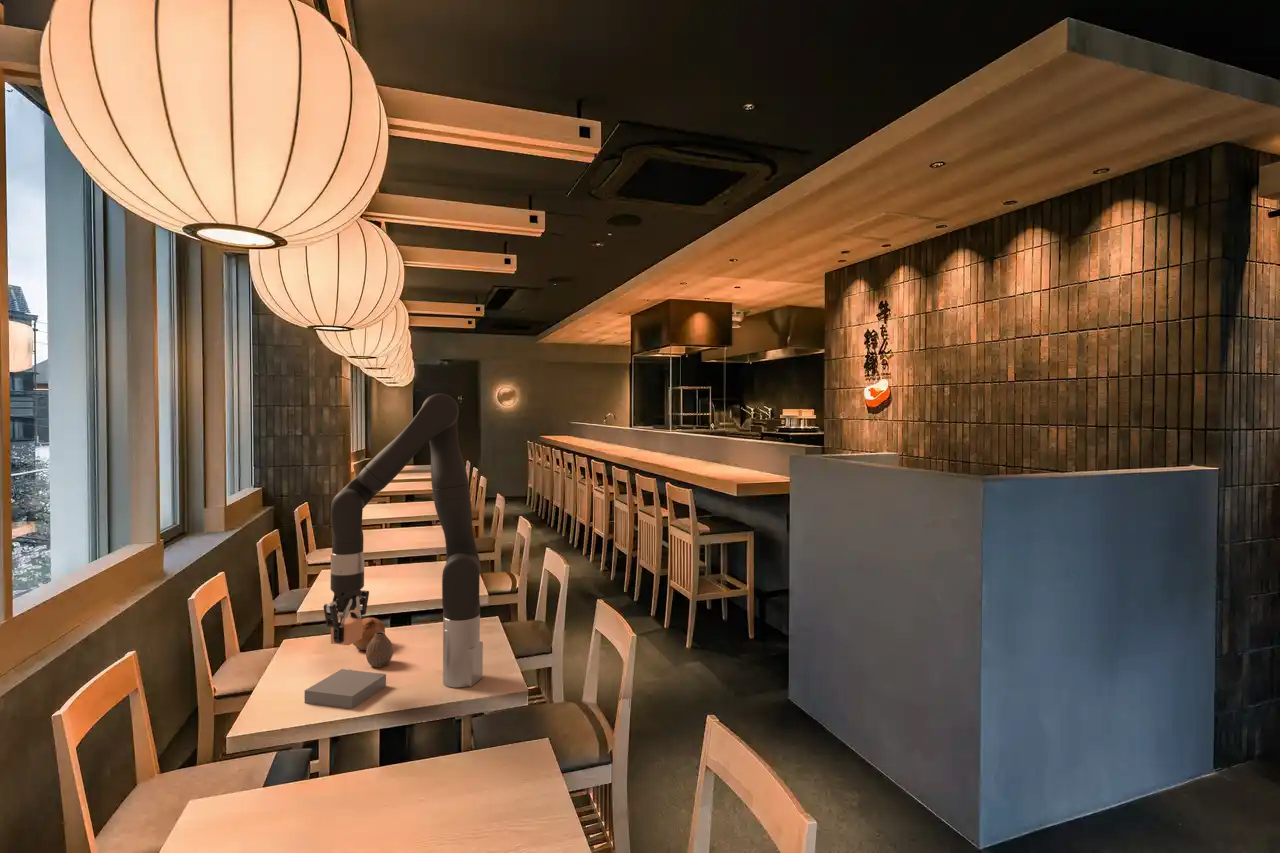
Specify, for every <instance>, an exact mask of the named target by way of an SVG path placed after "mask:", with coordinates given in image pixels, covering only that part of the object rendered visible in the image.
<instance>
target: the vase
mask: <svg viewBox="0 0 1280 853" xmlns="http://www.w3.org/2000/svg"><path fill="white" fill-rule="evenodd" d="M393 654H394V647H393V643H392V640H390V639H389V637H388V636H387V635H386V632H385V633H384V632H377V633H375V635H374V637H373V639H372V640H371V641H370V643H369V644H368V646H367V650H365V657H366V661H367V663H368V665H370V666H371V667H373V668H382V667H385V666H387V665H388V664H389V663H390V662H391V661H392V658H393Z"/></svg>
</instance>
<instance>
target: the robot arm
mask: <svg viewBox="0 0 1280 853" xmlns="http://www.w3.org/2000/svg"><path fill="white" fill-rule="evenodd" d="M459 410H460V409H459V405H458V403H457V401H456V399H454V398H453V397H451V395H448V394H445V393H435V394H432V395H430V396H428V397H427V398H426V399H425V400H423V403H422V406H421V408H420V409H419V410H418V411H417V414H416V415H415V416H414V417H413V419H412V420H411V421H410V422H409V424H407V426H406V427H405V428H404V429H403V430H402V431H401V432H400V433H399V434H398V435H397V436H396V437H395V438H394V439H393V440H392V441H391V442H389V443H388V444H387V445H386V446H385V447H383V449H382V450H380V451H379V452H378V453H377V454H375V456H374V457H373V458H372V459H371V460H370V461H369V462H368V463H367V464H365V466H364V467H363V468H362V469H361V471H360V472H359V473H358V475H356V476H355V478H353V479H352V480H350V482H349V483H347V484H346V485H345V486H344V487H343V488H342V489H341V490H340V491H339V492H337V494H336V495H335V496H334V497H333V499H332V500H331V507H330V511H331V512H330V514H331V515H330V516H331V526H332V527H331V528H332V538H331V539H332V540H331V542H332V543H331V544H332V546H331V559H330V560H331V561H330V591H331V592H333V597H332V601H331V602H330V603H324V604H323V611H324V616H325V617H324V618H325V623H326V627H327V628H331V627H333V629H334V642H335V643H342V642H343V641H344V627H343V626H344V623H345V619H346V618H347V617H352V618H362V616H365V615H366V614H367V609H368V604H369V603H368V601H369V596H370V591H369V590H362V589H363V588H364V587H365V556H364V532H363V511H364V508H366V506H367V505H368V504H369V503H370V502H371V501H372V499H373V498H374V497H375V496H376V495H377V494H378V493H379V492H381V491H382V490H384V489H385V488H386V487H387V486H388V485H389V484H390V483H391V482H392V481H393V480H394V479H395V478H396V477H397V476H398V475H399V474H400V473H401V471H402V470H403V469H405V467H406V466H407V465H408V464H409V463H410V461H411V460H412V459H413V458H414V457H415V455H416V454H417V453H418V452H420V450H421V449H422V448H423V447H424V446H425V445H426V444H427V443H429V448H430V480H431V489H432V496H433V497H432V498H433V504H434V507H435V511H436V514H437V518H438V520H439V524H440V526H441V529H442V532H443V535H444V540H445V541H444V542H445V550H446V552H445V553H446V556H445V557H446V560H445V565H444V567H443V570H442V575H441V577H442V578H441V583H442V584H441V590H442V591H441V594H442V595H441V596H442V597H441V598H442V600H441V601H442V602H441V603H442V609H443V612H442V613H443V617H442V618H443V619H442V620H443V624H442V625H443V627H442V630H443V631H442V683H443V685H444V686H446V687H449V688H464V687H465V688H466V687H473V686H474V685H475V684H477V683H478V682H479V681H480V680H481V679H483V674H484V672H483V670H484V668H483V667H484V666H483V665H484V664H483V662H484V659H483V657H484V656H483V655H484V654H483V652H484V650H483V649H484V642H483V641H480V640H481V635H480V633H481V628H480V627H481V603H480V602H481V601H480V579H481V578H480V575H481V572H482V563H481V561H480V560H481V559H480V556H479V553H478V550H477V545H476V542H475V537H474V531H473V510H472V508H473V507H472V500H471V498H472V497H471V490H470V484H469V483H470V482H469V478H468V473H467V469H466V465H465V461H464V459H463V455H462V453H461V449H460V443H459V432H458V417H459V412H460V411H459ZM341 613H342V614H341ZM339 619H340V623H339V622H338V620H339Z"/></svg>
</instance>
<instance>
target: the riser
mask: <svg viewBox="0 0 1280 853" xmlns="http://www.w3.org/2000/svg"><path fill="white" fill-rule="evenodd" d="M386 686H387V674H386V673H381V672H380V673H379V672H371V671H362V670H356V669H355V670H353V669H345V668H341V669H339V670H337V671H336V672H334V673H332V674H331V675H329V676H327V677H326V678H324V679H322V680H319V681H318V682H317V683H315V684H313V685H311V686H310V687H308V688H306V689H304V703H305V704H310V705H311V704H312V705H319V706H327V707H334V708H342V709H349V710H353V709H354V708H355V707H357V706H359V705H360V704H362V703H363V702H364V701H366V700H368V699H369V698H370V697H371V696H373V695H375V694H376V693H378V692H379V691H380V690H382V689H384V688H385V687H386Z"/></svg>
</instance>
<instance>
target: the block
mask: <svg viewBox="0 0 1280 853" xmlns="http://www.w3.org/2000/svg"><path fill="white" fill-rule="evenodd" d="M340 619H341V618H338V622H339V623H340ZM362 619H363V618H362V617H361V618H352V617H350V616H348V617H347V618H346V619H345V623H344V626H343V627H344V641H343V642H342V643H335V642H334V629H333V627H330V644H331V645H333V644H334V645H339V646H340V645H342V646H350V645H353V643H354V642H356V641H358V640H360V639H362Z"/></svg>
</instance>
